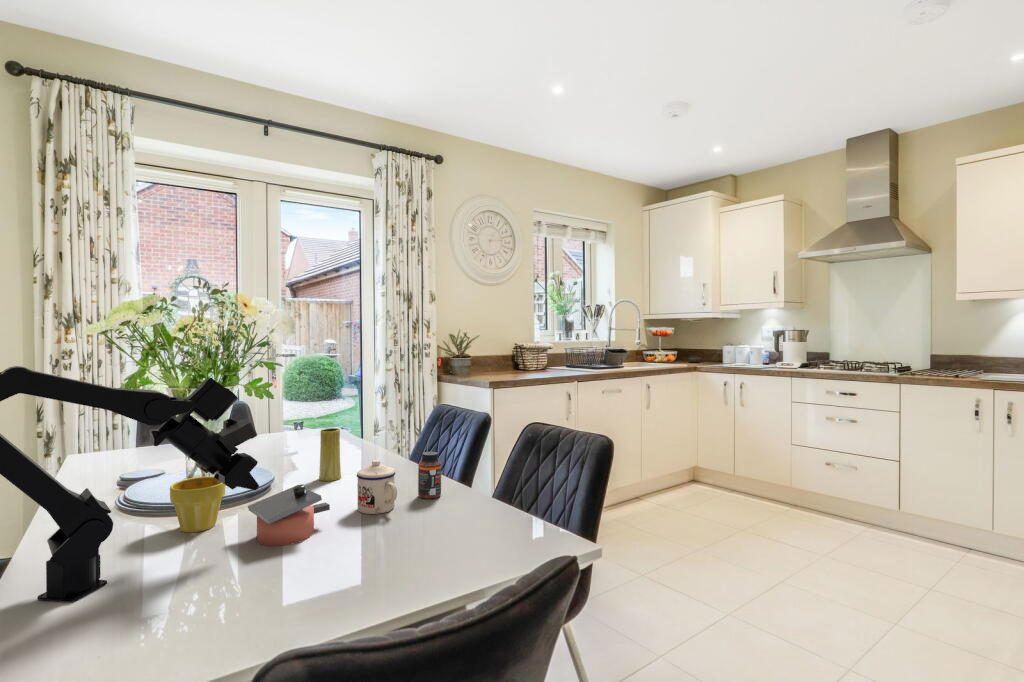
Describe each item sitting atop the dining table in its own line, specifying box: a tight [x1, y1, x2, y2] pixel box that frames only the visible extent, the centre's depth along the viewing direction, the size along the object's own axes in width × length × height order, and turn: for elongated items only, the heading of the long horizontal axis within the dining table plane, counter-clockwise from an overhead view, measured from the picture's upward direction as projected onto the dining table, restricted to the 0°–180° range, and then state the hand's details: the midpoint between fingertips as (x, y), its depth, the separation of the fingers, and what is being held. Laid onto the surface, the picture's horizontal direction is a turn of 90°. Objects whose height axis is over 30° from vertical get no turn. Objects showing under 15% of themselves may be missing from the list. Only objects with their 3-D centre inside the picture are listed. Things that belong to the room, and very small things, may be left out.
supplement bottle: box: [417, 451, 442, 500], centre depth 138 cm, size 6×6×11 cm
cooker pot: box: [256, 502, 331, 547], centre depth 112 cm, size 15×11×5 cm
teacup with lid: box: [356, 459, 398, 515], centre depth 127 cm, size 12×9×12 cm
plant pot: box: [169, 475, 226, 533], centre depth 115 cm, size 10×10×10 cm
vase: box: [318, 427, 342, 482], centre depth 153 cm, size 6×6×14 cm
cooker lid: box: [247, 483, 323, 524], centre depth 110 cm, size 11×11×3 cm
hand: (257, 487), depth 107 cm, fingers closed
